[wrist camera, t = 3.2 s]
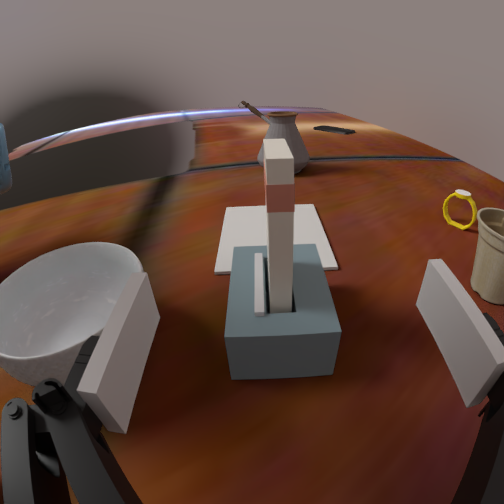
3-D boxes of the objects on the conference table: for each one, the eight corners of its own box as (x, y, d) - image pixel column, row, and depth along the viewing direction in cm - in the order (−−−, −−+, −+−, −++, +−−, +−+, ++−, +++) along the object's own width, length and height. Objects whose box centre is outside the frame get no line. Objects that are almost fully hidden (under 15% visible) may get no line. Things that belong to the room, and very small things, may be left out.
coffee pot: (320, 170, 68) (321, 104, 60) (280, 181, 62) (278, 106, 55) (262, 153, 83) (259, 98, 75) (225, 161, 78) (220, 103, 70)
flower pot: (448, 266, 35) (464, 203, 30) (501, 267, 33) (519, 210, 29) (474, 316, 27) (502, 245, 22) (531, 312, 25) (559, 249, 21)
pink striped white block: (290, 342, 26) (294, 158, 18) (270, 342, 26) (265, 159, 18) (285, 296, 31) (285, 138, 23) (268, 296, 31) (262, 139, 23)
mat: (337, 269, 36) (337, 266, 35) (214, 274, 36) (214, 271, 36) (313, 206, 51) (313, 204, 51) (226, 209, 51) (226, 207, 51)
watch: (439, 223, 45) (443, 188, 43) (444, 219, 47) (449, 185, 44) (470, 235, 41) (476, 199, 38) (474, 229, 42) (480, 195, 39)
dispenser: (332, 374, 23) (342, 327, 21) (231, 379, 24) (223, 332, 21) (312, 284, 34) (315, 240, 31) (237, 287, 34) (233, 243, 31)
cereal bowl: (177, 293, 34) (164, 235, 30) (137, 432, 19) (100, 376, 16) (53, 291, 34) (33, 243, 31) (-10, 393, 20) (-50, 341, 16)
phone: (323, 125, 119) (356, 130, 110) (323, 128, 120) (355, 133, 110) (312, 127, 114) (346, 132, 105) (312, 130, 115) (346, 135, 106)
